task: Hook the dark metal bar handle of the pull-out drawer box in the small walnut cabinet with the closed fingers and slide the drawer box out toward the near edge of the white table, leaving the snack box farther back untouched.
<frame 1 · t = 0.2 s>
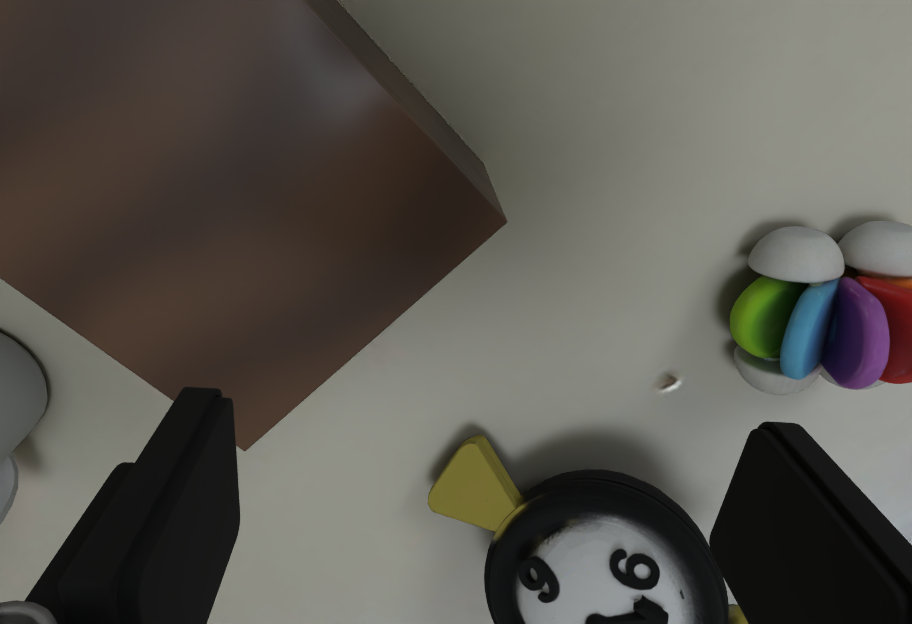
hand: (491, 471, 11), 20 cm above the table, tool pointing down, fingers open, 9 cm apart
cabinet: (254, 140, 27), on the table
rainbow disc toy: (801, 291, 32), on the table
alarm clock: (563, 499, 38), on the table
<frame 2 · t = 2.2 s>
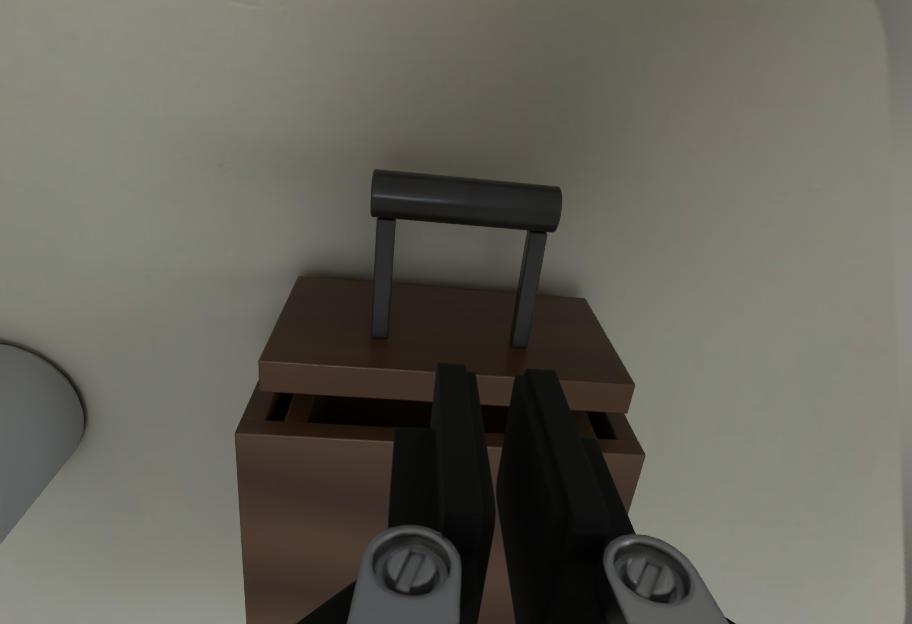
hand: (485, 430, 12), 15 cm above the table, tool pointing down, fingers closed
cabinet: (425, 458, 31), on the table
pull-out drawer box: (437, 418, 25), point 4 cm above the table, slide at 1.0 cm
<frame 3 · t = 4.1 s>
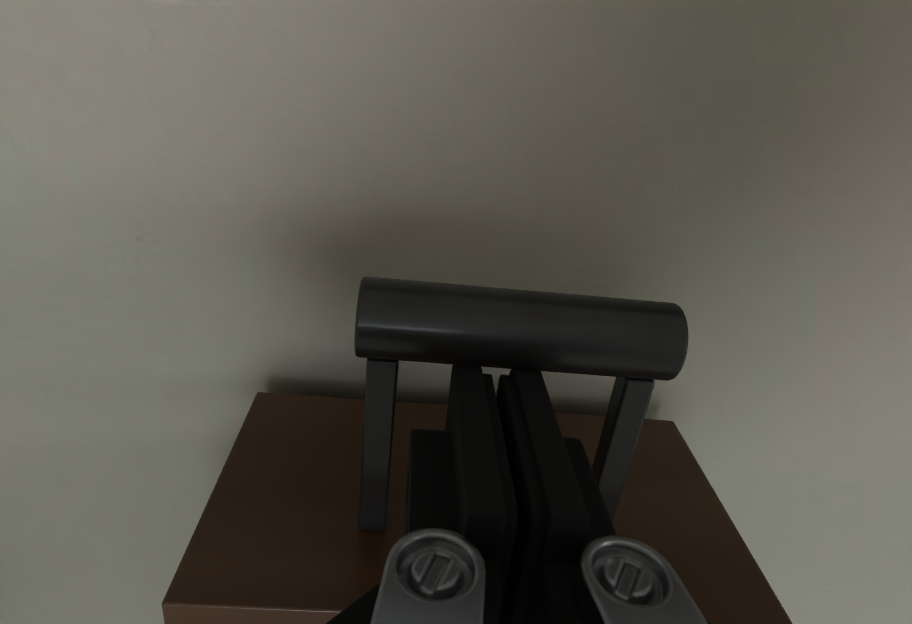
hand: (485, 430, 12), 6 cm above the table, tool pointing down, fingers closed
pull-out drawer box: (459, 609, 17), point 4 cm above the table, slide at 1.1 cm
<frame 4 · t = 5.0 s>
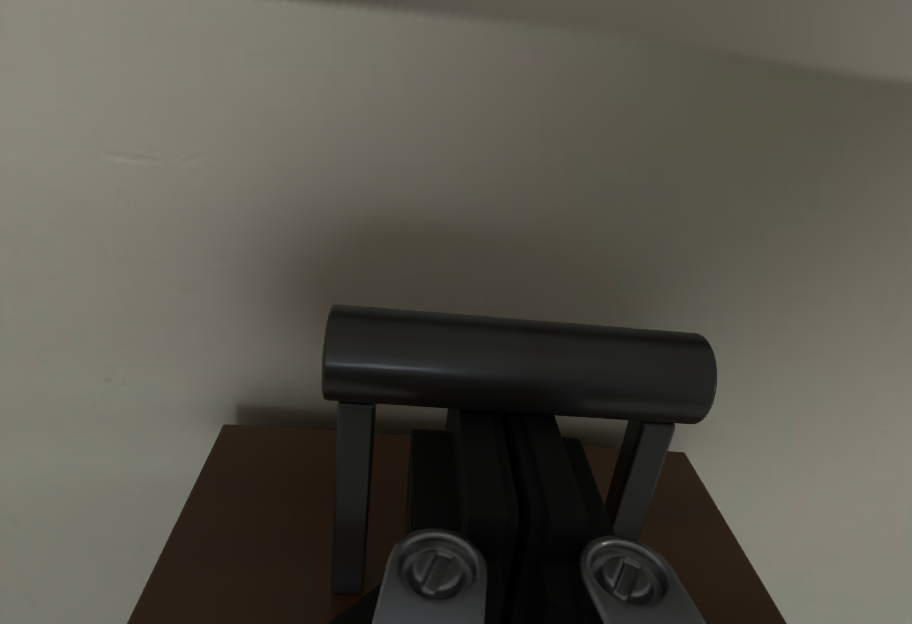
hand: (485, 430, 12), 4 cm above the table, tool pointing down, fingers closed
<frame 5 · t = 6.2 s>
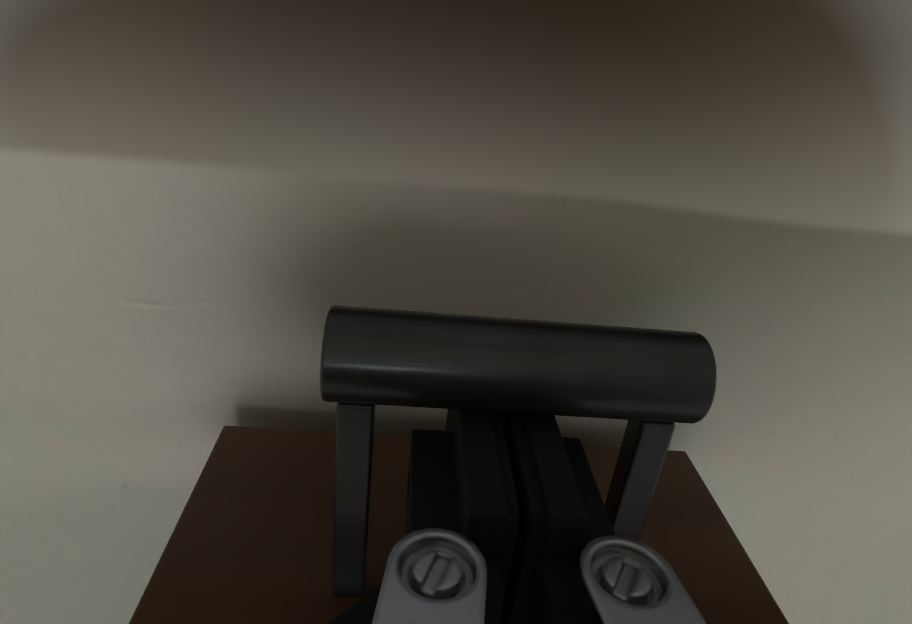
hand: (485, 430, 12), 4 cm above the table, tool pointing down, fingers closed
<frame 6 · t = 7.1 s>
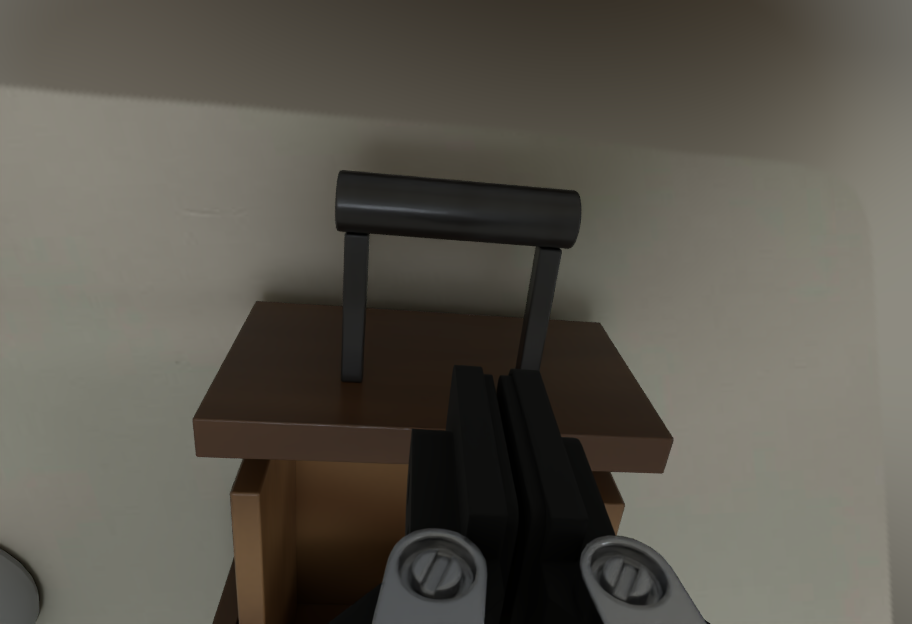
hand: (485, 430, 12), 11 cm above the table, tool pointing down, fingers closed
cabinet: (401, 621, 30), on the table
pull-out drawer box: (426, 471, 21), point 4 cm above the table, slide at 8.3 cm
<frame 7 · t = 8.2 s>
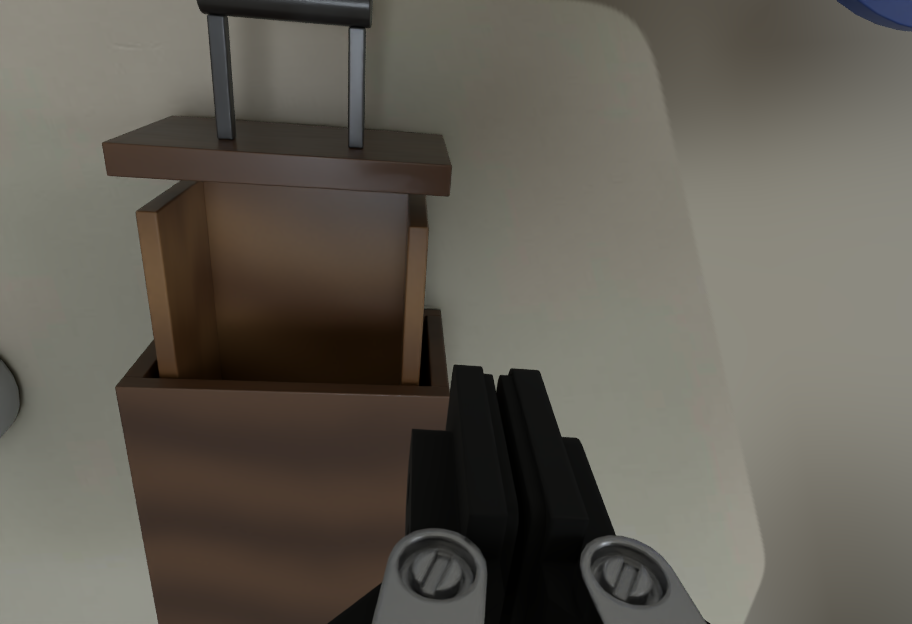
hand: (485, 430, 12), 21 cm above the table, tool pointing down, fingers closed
cabinet: (318, 422, 36), on the table
pull-out drawer box: (300, 237, 27), point 4 cm above the table, slide at 8.3 cm
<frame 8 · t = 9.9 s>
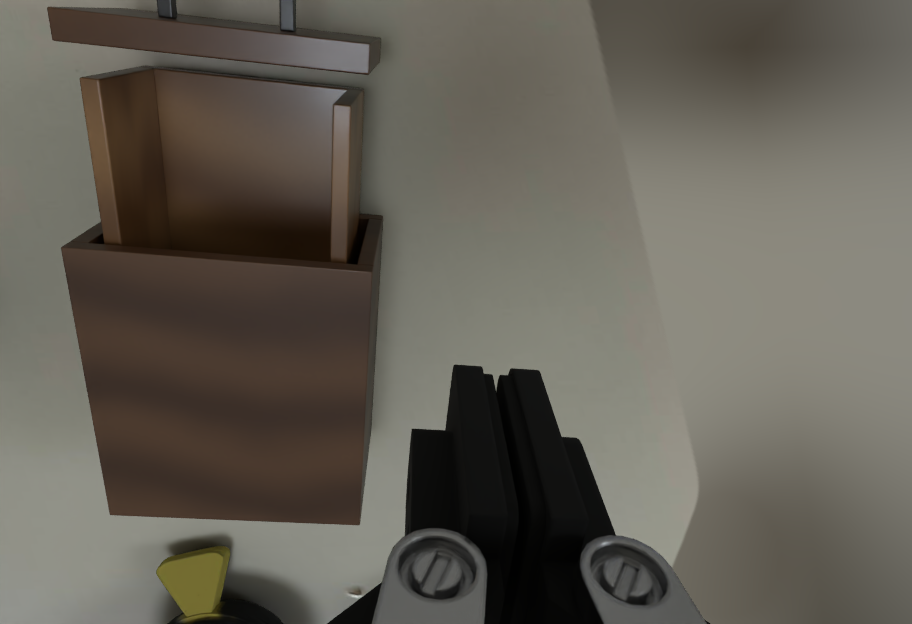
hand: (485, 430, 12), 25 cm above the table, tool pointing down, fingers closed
cabinet: (268, 324, 39), on the table
alarm clock: (236, 610, 50), on the table
pull-out drawer box: (240, 124, 29), point 4 cm above the table, slide at 8.3 cm
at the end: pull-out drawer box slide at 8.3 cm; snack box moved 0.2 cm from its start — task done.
